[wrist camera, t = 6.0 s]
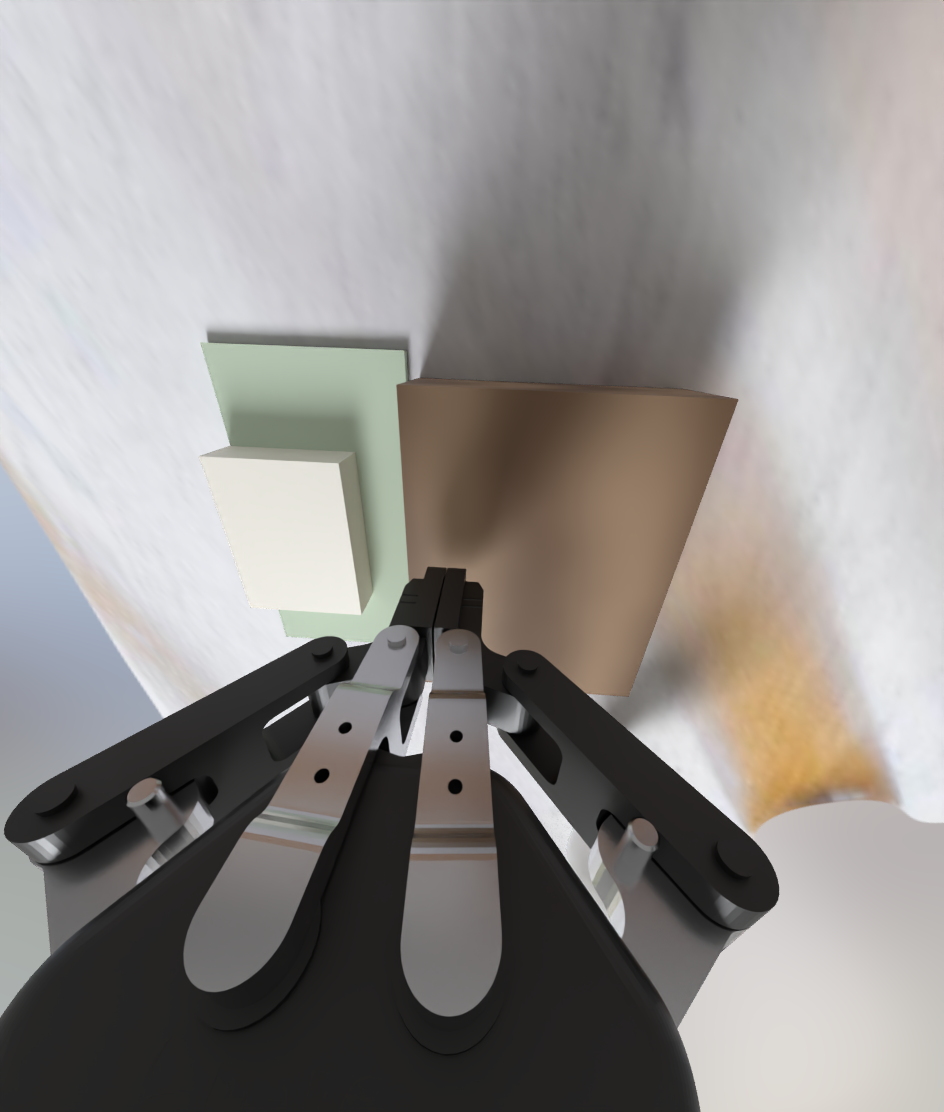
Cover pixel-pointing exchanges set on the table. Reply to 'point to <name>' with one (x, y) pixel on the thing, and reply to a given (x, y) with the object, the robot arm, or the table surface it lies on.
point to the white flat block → (293, 526)
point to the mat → (327, 447)
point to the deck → (558, 508)
